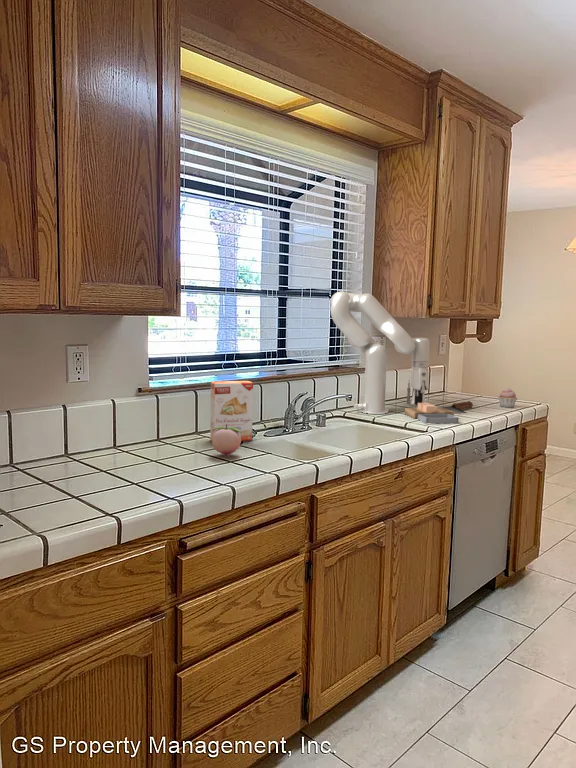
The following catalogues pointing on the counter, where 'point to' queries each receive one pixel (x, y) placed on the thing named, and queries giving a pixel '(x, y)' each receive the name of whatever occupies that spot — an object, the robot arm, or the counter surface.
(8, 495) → the counter surface
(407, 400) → the skyscraper
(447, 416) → the tray
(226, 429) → the decorative fruit
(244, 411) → the cracker box
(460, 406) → the meat cleaver
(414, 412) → the board
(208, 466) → the counter surface
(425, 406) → the tile front
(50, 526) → the counter surface
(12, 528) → the counter surface
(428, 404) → the tile rear
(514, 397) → the cupcake
